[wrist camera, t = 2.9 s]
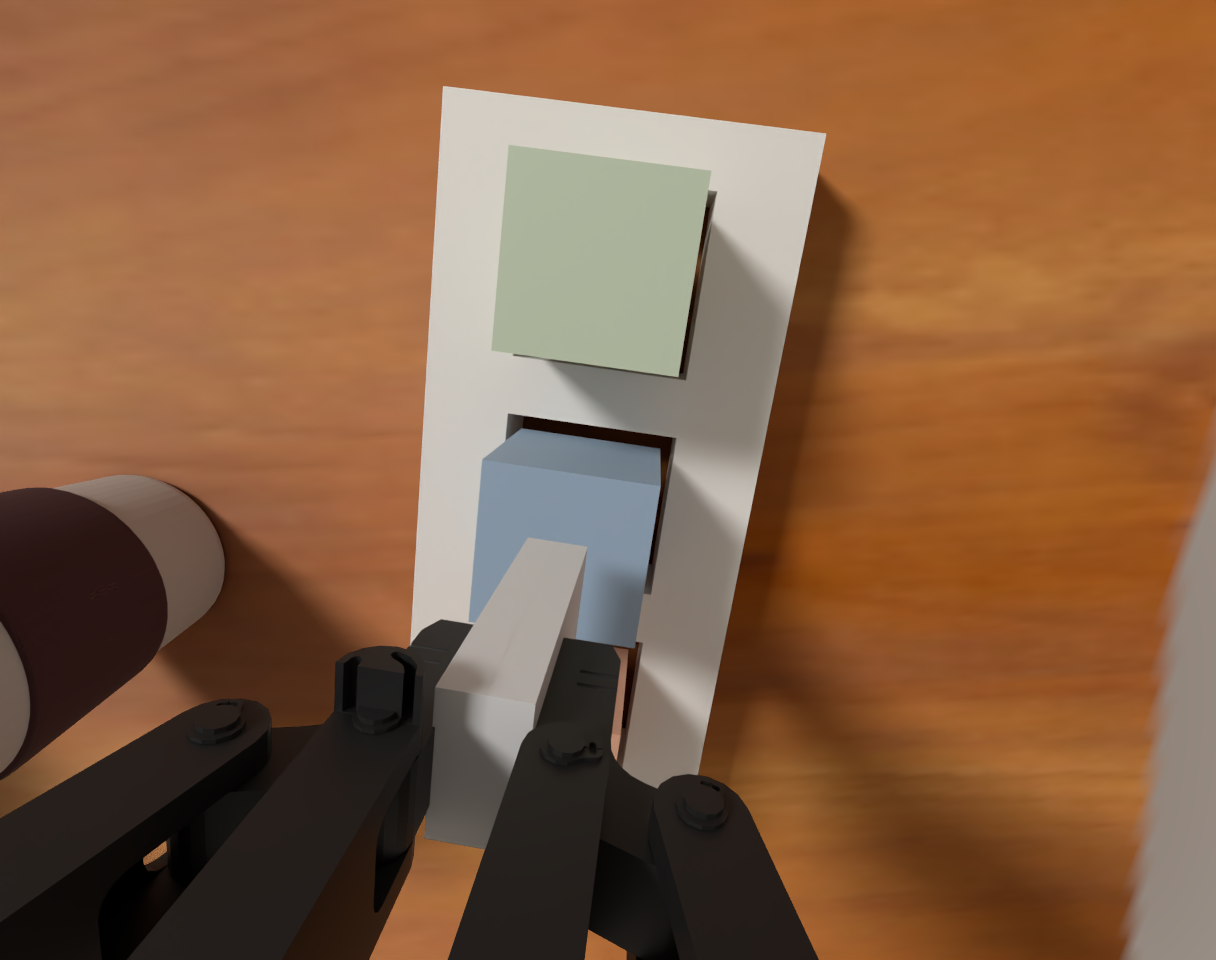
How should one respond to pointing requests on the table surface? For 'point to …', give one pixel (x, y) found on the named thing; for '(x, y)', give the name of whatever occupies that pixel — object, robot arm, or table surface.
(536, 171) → the button sage
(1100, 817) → the table surface
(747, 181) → the button board
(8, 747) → the coffee cup
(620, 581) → the button slate
